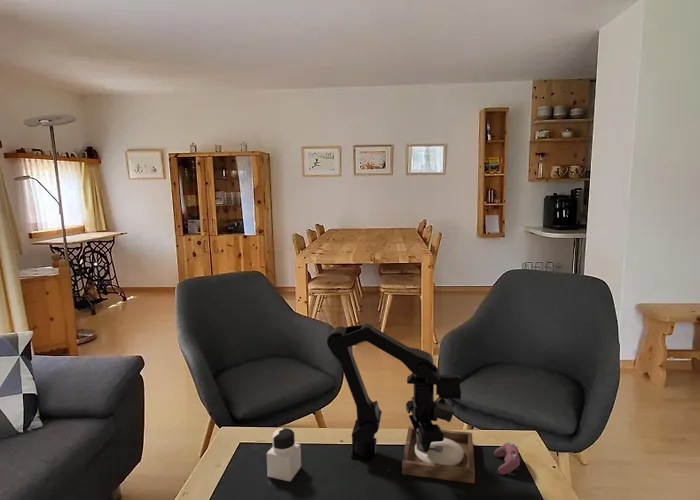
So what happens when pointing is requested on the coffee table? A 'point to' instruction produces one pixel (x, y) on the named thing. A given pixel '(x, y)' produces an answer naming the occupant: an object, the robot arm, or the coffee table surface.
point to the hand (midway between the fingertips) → (423, 446)
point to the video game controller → (508, 457)
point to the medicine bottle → (283, 455)
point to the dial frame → (454, 473)
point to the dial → (440, 452)
